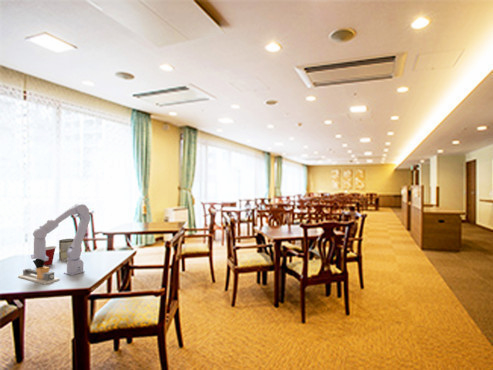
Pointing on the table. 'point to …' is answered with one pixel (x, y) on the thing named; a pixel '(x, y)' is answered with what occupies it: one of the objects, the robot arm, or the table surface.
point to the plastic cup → (49, 255)
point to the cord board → (32, 276)
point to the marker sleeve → (41, 271)
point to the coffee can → (64, 248)
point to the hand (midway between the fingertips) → (39, 271)
